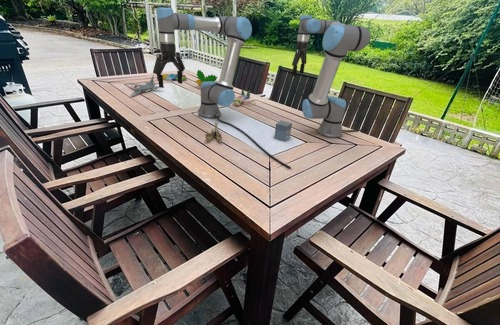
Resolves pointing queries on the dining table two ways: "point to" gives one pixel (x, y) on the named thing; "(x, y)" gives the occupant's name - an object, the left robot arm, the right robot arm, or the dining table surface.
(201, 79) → the ornament
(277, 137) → the block
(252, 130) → the dining table surface
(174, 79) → the sign
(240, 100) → the toy
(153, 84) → the airplane
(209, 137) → the jawbone
